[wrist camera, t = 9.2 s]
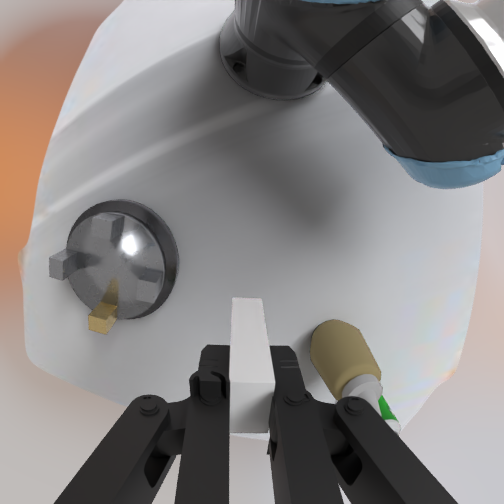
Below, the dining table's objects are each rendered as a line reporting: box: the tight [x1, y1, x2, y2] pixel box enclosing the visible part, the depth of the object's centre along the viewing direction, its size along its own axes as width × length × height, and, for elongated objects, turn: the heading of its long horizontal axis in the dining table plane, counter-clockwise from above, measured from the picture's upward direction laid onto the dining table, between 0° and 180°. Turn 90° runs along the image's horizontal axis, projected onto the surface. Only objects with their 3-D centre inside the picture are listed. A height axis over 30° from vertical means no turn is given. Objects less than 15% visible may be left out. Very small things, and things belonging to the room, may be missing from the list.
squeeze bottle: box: [310, 320, 383, 416], centre depth 34 cm, size 8×8×18 cm
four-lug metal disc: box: [49, 211, 166, 334], centre depth 33 cm, size 14×14×6 cm
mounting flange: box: [67, 199, 179, 319], centre depth 37 cm, size 16×16×2 cm
